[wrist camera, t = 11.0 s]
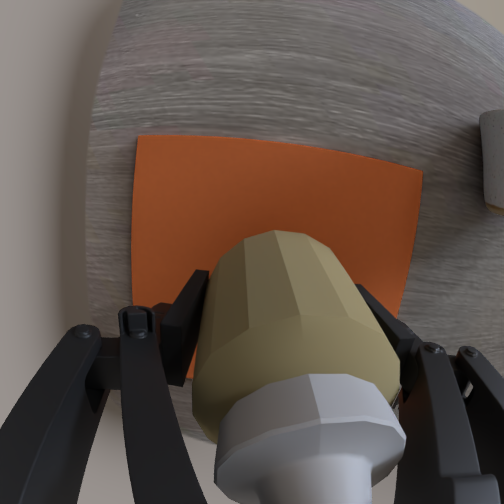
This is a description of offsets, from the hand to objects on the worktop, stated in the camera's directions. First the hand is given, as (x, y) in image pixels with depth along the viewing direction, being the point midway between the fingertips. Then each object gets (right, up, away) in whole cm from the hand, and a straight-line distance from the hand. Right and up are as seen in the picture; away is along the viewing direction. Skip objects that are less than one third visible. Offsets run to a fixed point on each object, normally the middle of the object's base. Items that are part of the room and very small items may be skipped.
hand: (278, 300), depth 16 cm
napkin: (0, +1, +3) cm, 4 cm away
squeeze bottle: (0, +1, +3) cm, 3 cm away
